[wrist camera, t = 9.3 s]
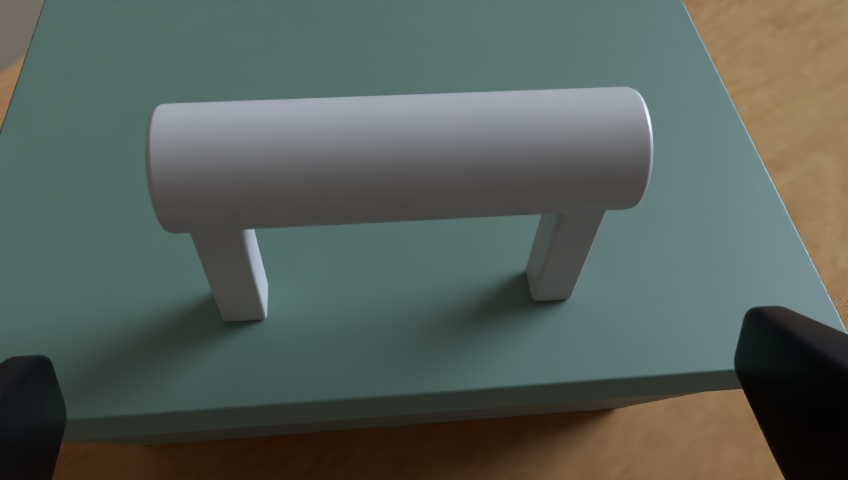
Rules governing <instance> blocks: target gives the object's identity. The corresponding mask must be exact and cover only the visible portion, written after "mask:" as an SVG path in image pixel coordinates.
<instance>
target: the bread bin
mask: <svg viewBox="0 0 848 480" xmlns="http://www.w3.org/2000/svg"><path fill="white" fill-rule="evenodd" d="M694 393H699V392H692V393H679V394H666V395H653V396H641V397H628V398H615V399H602V400H589V401H576V402H564V403H551V404H538V405H525V406H512V407H499V408H486V409H474V410H461V411H448V412H435V413H422V414H409V415H397V416H384V417H371V418H358V419H345V420H332V421H319V422H307V423H294V424H281V425H268V426H255V427H242V428H230V429H217V430H204V431H191V432H178V433H165V434H152V435H140V436H127V437H114V438H101V439H88V440H75V441H63V442H82V443H103V444H124V445H144V446H147V445H160V444H172V443H185V442H198V441H210V440H223V439H236V438H248V437H261V436H273V435H286V434H299V433H311V432H324V431H337V430H349V429H362V428H374V427H387V426H400V425H412V424H425V423H438V422H450V421H463V420H476V419H488V418H501V417H513V416H526V415H539V414H551V413H564V412H577V411H589V410H602V409H615V408H623V407H627V406H632V405H637V404H642V403H648V402H653V401H658V400H663V399H668V398H673V397H678V396H684V395H689V394H694Z"/></svg>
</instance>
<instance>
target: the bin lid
mask: <svg viewBox="0 0 848 480" xmlns="http://www.w3.org/2000/svg"><path fill="white" fill-rule="evenodd" d="M762 306H782V307H785V308H788V309H790V310H792V311H795V312H797V313H799V314H802V315H804V316H806V317H809V318H811V319H813V320H816V321H818V322H820V323H823V324H825V325H828V326H830V327H832V328H835V329H837V330H839V331H842V332H844V333H846V334H848V332H847V330H846V328H845V326H844V324H843V322H842V320H841V318H840V316H839V314H838V312H837V310H836V308H835V306H834V304H833V302H832V300H831V298H830V296H829V294H828V292H827V290H826V288H825V286H824V284H823V282H822V280H821V278H820V276H819V274H818V272H817V270H816V268H815V266H814V264H813V262H812V260H811V258H810V256H809V254H808V252H807V250H806V248H805V246H804V244H803V242H802V240H801V238H800V236H799V234H798V232H797V230H796V228H795V226H794V224H793V222H792V220H791V218H790V216H789V214H788V212H787V210H786V208H785V206H784V204H783V202H782V200H781V198H780V196H779V194H778V192H777V190H776V188H775V186H774V184H773V182H772V180H771V178H770V176H769V174H768V172H767V170H766V168H765V166H764V164H763V162H762V160H761V158H760V156H759V154H758V152H757V150H756V148H755V146H754V144H753V142H752V140H751V138H750V136H749V134H748V132H747V130H746V128H745V126H744V124H743V122H742V120H741V118H740V116H739V114H738V112H737V110H736V108H735V106H734V104H733V102H732V100H731V98H730V96H729V94H728V92H727V90H726V88H725V86H724V84H723V82H722V80H721V78H720V76H719V74H718V72H717V70H716V68H715V66H714V64H713V62H712V60H711V58H710V56H709V54H708V52H707V50H706V48H705V46H704V44H703V42H702V40H701V38H700V36H699V34H698V32H697V30H696V28H695V26H694V24H693V22H692V20H691V18H690V16H689V14H688V12H687V10H686V8H685V6H684V4H683V2H682V0H45V1H44V4H43V7H42V10H41V13H40V16H39V19H38V22H37V25H36V27H35V31H34V33H33V36H32V39H31V42H30V45H29V48H28V51H27V54H26V57H25V60H24V63H23V66H22V69H21V72H20V75H19V77H18V80H17V83H16V86H15V89H14V92H13V95H12V98H11V101H10V104H9V107H8V110H7V113H6V116H5V119H4V122H3V124H2V127H1V130H0V363H1V362H3V361H4V360H6V359H8V358H10V357H13V356H26V355H45V356H47V357H48V358H49V359H50V360H51V362H52V364H53V366H54V370H55V373H56V376H57V379H58V382H59V386H60V389H61V392H62V395H63V399H64V402H65V405H66V411H67V420H66V426H65V431H64V434H63V438H62V442H63V441H75V440H88V439H101V438H114V437H127V436H140V435H152V434H165V433H178V432H191V431H204V430H217V429H230V428H242V427H255V426H268V425H281V424H294V423H307V422H319V421H332V420H345V419H358V418H371V417H384V416H397V415H409V414H422V413H435V412H448V411H461V410H474V409H486V408H499V407H512V406H525V405H538V404H551V403H564V402H576V401H589V400H602V399H615V398H628V397H641V396H653V395H666V394H679V393H692V392H705V391H718V390H731V389H742V386H741V384H740V382H739V380H738V378H737V375H736V372H735V368H734V355H735V351H736V347H737V343H738V339H739V335H740V331H741V327H742V322H743V319H744V316H745V314H746V312H747V311H748V310H749V309H751V308H752V307H762Z"/></svg>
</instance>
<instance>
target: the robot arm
mask: <svg viewBox="0 0 848 480" xmlns="http://www.w3.org/2000/svg"><path fill="white" fill-rule="evenodd" d="M734 368H735V372H736V375H737V378H738V380H739V382H740V384H741V386H742V389H743V391H744V393H745V395H746V397H747V400H748V402H749V404H750V406H751V408H752V410H753V413H754V415H755V417H756V419H757V421H758V424H759V426H760V428H761V430H762V432H763V435H764V437H765V439H766V441H767V443H768V446H769V448H770V450H771V452H772V454H773V456H774V458H775V460H776V462H777V464H778V466H779V468H780V470H781V472H782V474H783V476H784V478H785V480H848V334H846V333H844V332H842V331H839V330H837V329H835V328H832V327H830V326H828V325H825V324H823V323H820V322H818V321H816V320H813V319H811V318H809V317H806V316H804V315H802V314H799V313H797V312H795V311H792V310H790V309H788V308H785V307H782V306H762V307H752V308H751V309H749V310H748V311H747V312H746V314H745V316H744V319H743V322H742V327H741V331H740V335H739V339H738V343H737V347H736V351H735V355H734ZM66 420H67V411H66V405H65V402H64V399H63V395H62V392H61V389H60V386H59V382H58V379H57V376H56V373H55V370H54V366H53V364H52V362H51V360H50V359H49V358H48V357H47V356H45V355H26V356H13V357H10V358H8V359H6V360H4V361H3V362H1V363H0V480H52V477H53V473H54V470H55V466H56V462H57V458H58V454H59V450H60V446H61V442H62V438H63V434H64V431H65V426H66Z"/></svg>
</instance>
